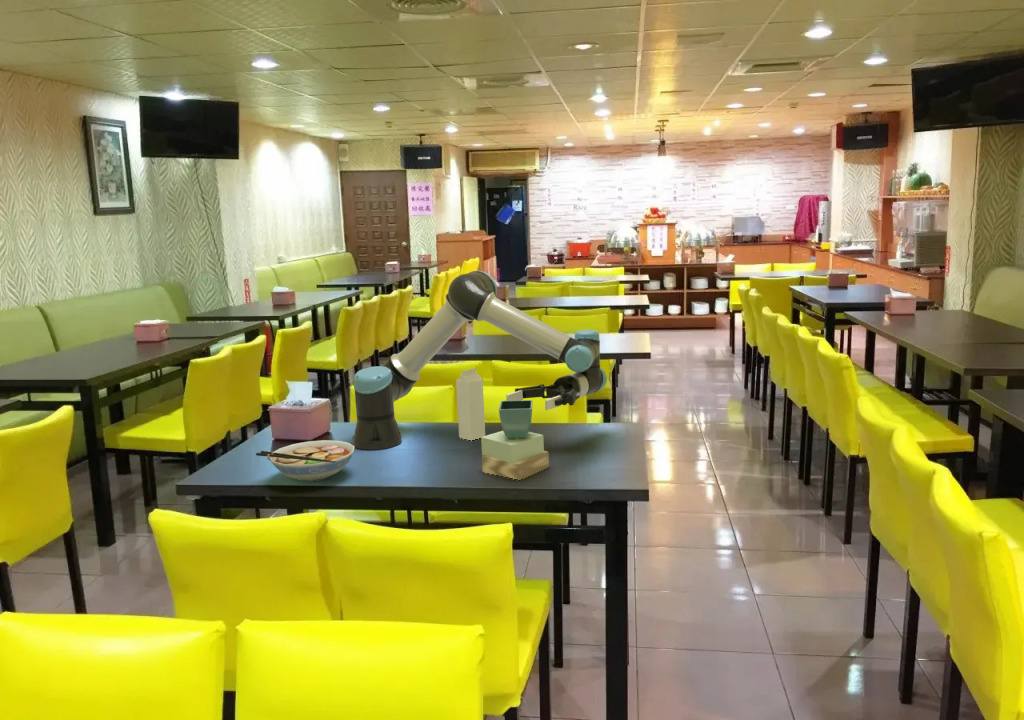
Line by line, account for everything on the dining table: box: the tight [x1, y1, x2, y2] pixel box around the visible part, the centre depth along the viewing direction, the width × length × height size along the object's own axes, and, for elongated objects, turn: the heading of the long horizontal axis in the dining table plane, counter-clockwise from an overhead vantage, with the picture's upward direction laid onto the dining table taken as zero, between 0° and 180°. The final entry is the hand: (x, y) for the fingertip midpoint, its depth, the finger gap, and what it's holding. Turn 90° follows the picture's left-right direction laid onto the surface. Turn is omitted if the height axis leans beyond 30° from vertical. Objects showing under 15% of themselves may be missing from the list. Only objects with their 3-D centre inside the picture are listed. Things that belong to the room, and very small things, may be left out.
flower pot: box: [498, 399, 533, 439], centre depth 210 cm, size 9×9×9 cm
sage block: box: [481, 430, 545, 463], centre depth 212 cm, size 12×12×5 cm
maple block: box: [481, 450, 550, 481], centre depth 213 cm, size 13×13×5 cm
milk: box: [455, 368, 486, 442], centre depth 244 cm, size 6×6×22 cm
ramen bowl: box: [255, 439, 355, 483], centre depth 213 cm, size 25×23×8 cm
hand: (526, 402), depth 214 cm, fingers open, 13 cm apart
